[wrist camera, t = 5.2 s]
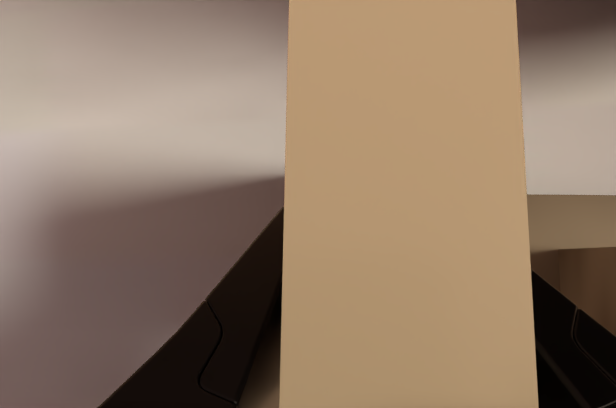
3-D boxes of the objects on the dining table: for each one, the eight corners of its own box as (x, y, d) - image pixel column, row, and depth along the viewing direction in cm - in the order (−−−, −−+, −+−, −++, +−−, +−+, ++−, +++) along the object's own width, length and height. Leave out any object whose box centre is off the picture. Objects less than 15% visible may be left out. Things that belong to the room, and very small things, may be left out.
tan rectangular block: (388, 330, 16) (543, 488, 5) (308, 329, 16) (277, 479, 5) (387, 172, 16) (516, -4, 6) (310, 171, 17) (288, -2, 6)
